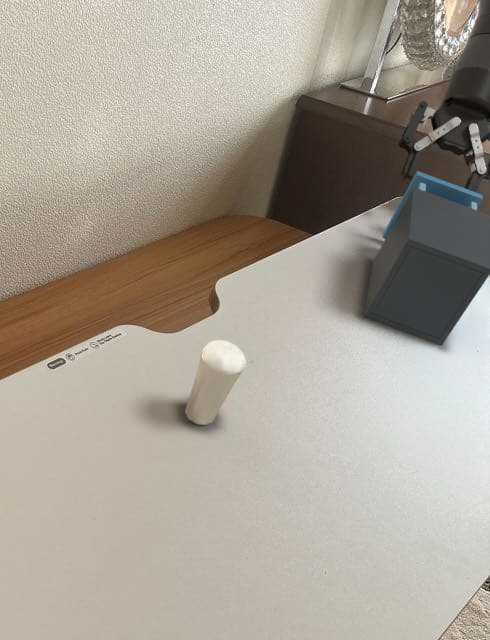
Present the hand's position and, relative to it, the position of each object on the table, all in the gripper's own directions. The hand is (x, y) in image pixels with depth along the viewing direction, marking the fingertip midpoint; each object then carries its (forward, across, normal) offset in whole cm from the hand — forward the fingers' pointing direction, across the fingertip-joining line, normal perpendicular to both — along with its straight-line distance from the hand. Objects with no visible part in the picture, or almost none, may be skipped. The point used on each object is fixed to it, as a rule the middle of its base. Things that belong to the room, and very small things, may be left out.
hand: (435, 191), depth 126 cm
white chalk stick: (+45, -21, -35) cm, 61 cm away
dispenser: (+18, 0, -9) cm, 21 cm away
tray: (+11, 0, -3) cm, 11 cm away
